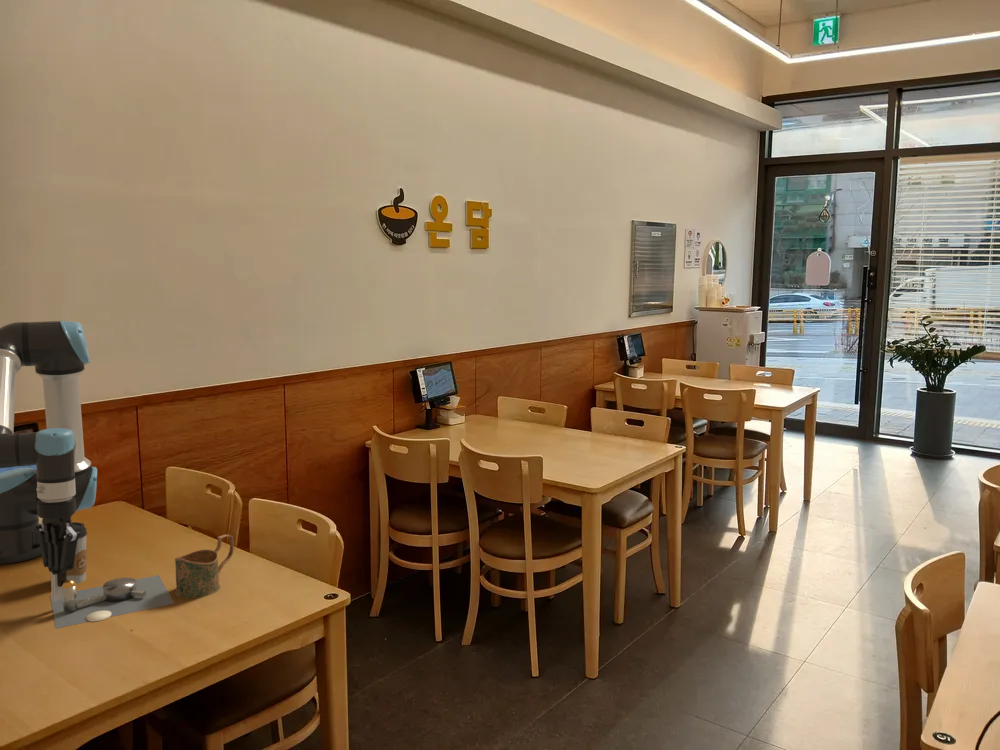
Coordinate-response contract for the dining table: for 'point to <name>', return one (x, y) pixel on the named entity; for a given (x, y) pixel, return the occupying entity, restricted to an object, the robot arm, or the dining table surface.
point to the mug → (200, 571)
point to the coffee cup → (79, 555)
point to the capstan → (111, 589)
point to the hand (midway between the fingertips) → (59, 598)
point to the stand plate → (112, 603)
